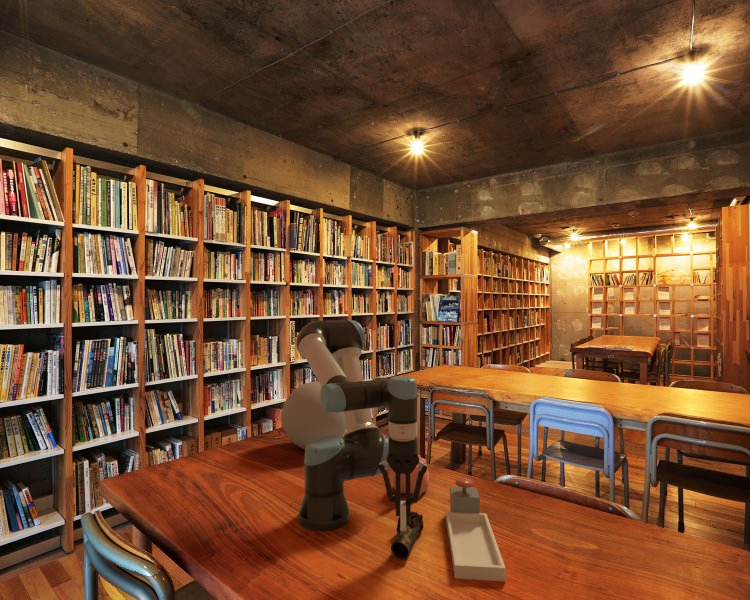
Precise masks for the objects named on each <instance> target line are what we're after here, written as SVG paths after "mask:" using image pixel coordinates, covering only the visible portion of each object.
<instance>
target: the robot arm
mask: <svg viewBox="0 0 750 600" xmlns="http://www.w3.org/2000/svg"><path fill="white" fill-rule="evenodd" d="M365 340H366V336H365V332H364V329H363V327H362V325H361V324H360V323H359V322H358V321H356V320H352V319H351V320H350V319H343V320H341V319H339V320H338V319H337V320H334V319H333V320H314V321H311V322H308V323H307V324H306V325H304V326H303V327H302V328H301V329H300V331H299V332H298V334H297V338H296V341H295V344H296V348H297V351H298V354H299V355H300V357H301V358H303V359H304V360H306V361H307V363H308V364H309V366H310V369H311V370H312V372H313V374H314V375H315V377H316V379H317V382H319V383H320V384H321V386H322V388H321V392H320V400H321V404H322V408H323V410H324V411H325V412H337V413H339V412H343V411H344V414H345V420H346V425H347V429H346V431H345V433H344V435H343V436H342V437H340V436H324V437H320V438H317V439H315V440H313V441H311V442H310V443H309V444H308V445H307V446H306V449H304V459H303V463H304V495H303V498H302V502H301V505H300V508H299V510H298V522H299V523H298V524H300V526H301V527H303V528H304V529H307V530H309V531H314V532H328V531H329V532H330V531H334V530H337V529H340V528H343V527H344V526H346V524H347V523H348V522H349V520H350V518H351V515H350V507H349V504H348V500H347V497H346V495H345V489H344V488H345V486H344V483H345V482H347V481H352V480H358V479H362V478H363V479H364V478H368V477H375V476H379V475H382V477H383V482H384V486H385V490H386V495H387V499H388V502H390V503H393V504H395V516H396V517H398V518H399V517H400V531H406V517H410V515H411V512H412V511H411V510H412V509H411V506H412V504H417V503H418V500H419V497H420V496H419V492H420V488H421V484H422V480H423V476H424V474H425V472H426V471H427V469H428V470H429V467H428V463H427V462H426V463H423V462H421V461H420V460H419V457H418V455H419V454H418V438H417V437H418V394H419V393H418V386H417V380H416V379H415V377H411V376H405V375H398V376H397V375H396V376H391V377H389V378H387V377H382V376H381V377H380V376H377V377H374V378H372V379H370V380H365V379H364V376H363V371H362V367H361V362H360V356H361V355H362V354H363V352H362V351H363V350H364V349H365V347H366V341H365ZM374 408H385V409H387V411H388V421H387V422H388V435H385V434H381V432H380V427H378V426H376V425H375V424H374V423H373V422H374V421H373V417H372V411H371V409H374ZM388 436H389V437H388ZM417 465H418V470H419V472H418V476H417V480H416V485H415V489H414V493H413V494H412V495H411V494H410V473H412V472H413V470H414V469H415V468H416V466H417ZM389 467H390V468H391V469H392V471H393V473H394V472H395V473H396V490H395V495H394V491H393V486H392V483H391V478H390V474H389V470H388V469H389ZM427 467H428V468H427ZM401 474H406V493H405V500H401Z"/></svg>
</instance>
